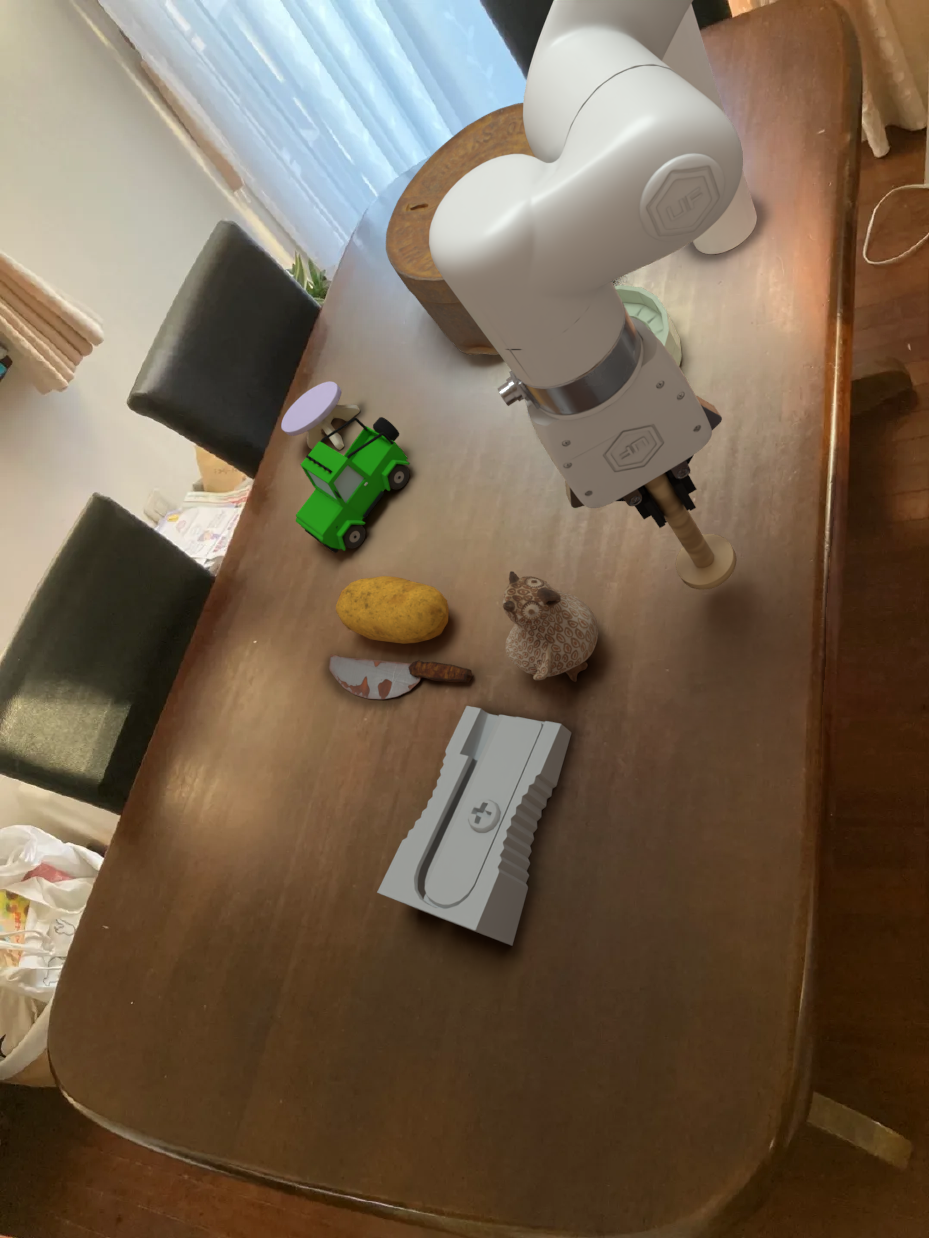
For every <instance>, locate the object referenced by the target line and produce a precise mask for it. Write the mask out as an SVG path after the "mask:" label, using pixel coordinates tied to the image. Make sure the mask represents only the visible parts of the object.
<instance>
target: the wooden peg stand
mask: <svg viewBox="0 0 929 1238" xmlns="http://www.w3.org/2000/svg"><path fill="white" fill-rule="evenodd" d="M644 486H645V488H646V489H647V490H648V492H649V494H650V495H651V497H652V498H653V500H654V501H655V503H656V504H657V506H658V508H659V509H660V511H661V512H662V514H663V515H664V517H665V519H666V521H667V524H668V526H669V527H670V528H671V530H672V532H673V533H674V535H675V536H676V538H677V539H678V541H679V543H680V544H681V548H680V549H679V551H678V553H677V556H676V559H675V569H676V573H677V575H678V576H679V578H680V579H681V580H682V582H683V583H684V584H685V585H686V586H687V587H690V589H695V590H699V591H700V590H701V591H705V590H711V589H715V588H717V587H719V586H721V585H723V584H725V582H726V581H728V579H730V577H731V576H732V575H733V573H734V571H735V569H736V566H737V554H736V551H735V549H734V547H733V546H732V544H731V542H730V541H729V540H728V539H727V538H725V537H724V536H721V535H719V534H714V533H706V534H705V533H704V534H703V532H701V530H700V528H699V527H698V525H697V523H696V522H695V519H694V518H693V516H692V515H691V513H690V510H688V511H687V510H686V508H685V507H684V505H683V503H682V502H681V500H680V498H679V497H678V495H677V493H676V492H675V490H674V488H673V487H672V485H671V483H670V481H669V479H668V478H667V474H666V473H663V474H661V475H660V476H658V477H656V478H655V479H653V480H651V481H650V482H648V483H646V484H644Z"/></svg>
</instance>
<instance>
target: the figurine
mask: <svg viewBox="0 0 929 1238" xmlns="http://www.w3.org/2000/svg"><path fill="white" fill-rule="evenodd" d="M502 608H503V611H504V613H505V615H506V616H507V618H509V620H510V621H511V622H512V623H513V624H514V625H513V626H512V629H511V630H510V632H509V633H508V635H507V637H506V640H505V644H504V645H505V652H506V655H507V657H508V659H509V660H510V661H511V662H512V664H513V665H514V666H516V668H519V669H520V670H521V671H523V672H525V673H527V674H530V675H532V678H533V680H535V681H542V680H546V678H547V677H554V676H557V675H561V674H563V673H565V674H567V675H568V677H569V679H570V680H571V681H572V682H574V683H576V682H577V680H578V679H577V678H578V674H579V673H580V672H583V671H584V670H586V669H587V668H588V665H589V664H588V663H587V662H586V661H587V660H588V659H589V658H590V657H591V655H592V654H593V652H594V650H595V648H596V646H597V642H598V637H599V623H598V620H597V618H596V616H595V614H594V612H593V611H592V610H591V608H590V607H589V606H588V605H587V603H585V602H584V601H583V600H581V599H580V598H579V597H578V596H576V595H574V594H571V593H567V592H564V591H561V590H558V589H556V588H553V586H552V587H551V584H550V583H549V582H547V581H546V580H544V579H542V578H540V577H536V576H529V575H528V576H526V575H525V576H520V577H519V575H517V574H516V572H515V571H513V570H511V571H509V575H508V585H507V586H506V588H505V590H504V592H503V596H502Z"/></svg>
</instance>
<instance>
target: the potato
mask: <svg viewBox="0 0 929 1238" xmlns="http://www.w3.org/2000/svg"><path fill="white" fill-rule="evenodd" d="M335 612H336V614H337V615H338V617H339V619H340V621H341V623H342V624H343V626H345V627H346V629H348V630H349V631H352V632H354V633H356V634H358V635H360V636H362V637H365V638H367V639H370V640H372V641H373V640H374V641H380V642H387V643H395V644H405V645H406V644H415V643H421V642H425V641H429V640H432V639H434V638H436V637H439V636H440V635H442V633H443V632H444V630H445V627H446V626H447V625H448V622H449V615H450V609H449V603H448V600H447V598H446V597H445V596H444V595H443V594H442V592H441V591H440V590H438V589H437V588H436V587H434V586H431V585H429V584H425V583H421V582H417V581H412V580H409V579H406V578H403V577H398V576H391V575H390V576H389V575H382V576H381V575H380V576H374V577H363V578H360V579H356V580H354V581H352V582H350V583H349V584H348V585H346V586H345V588H343V589H342V590H341V591H340V594H339V596H338V599H337V602H336V604H335Z"/></svg>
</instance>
